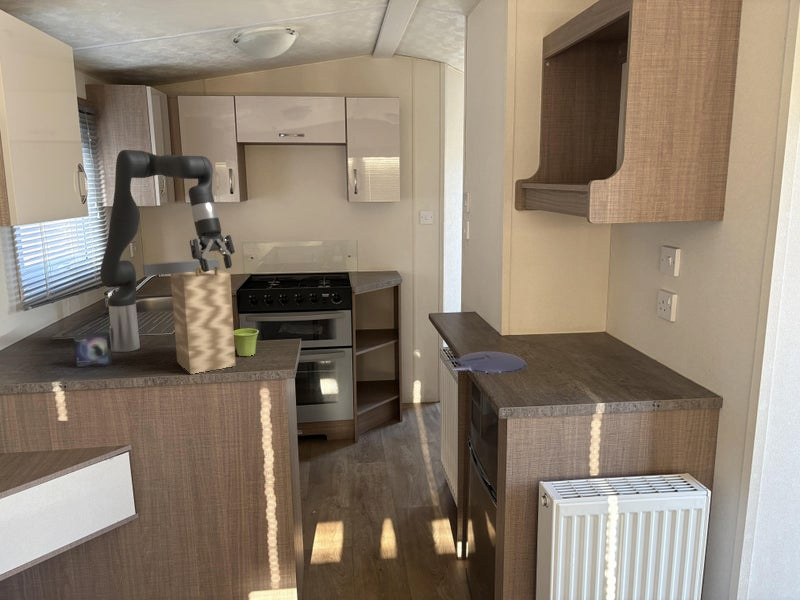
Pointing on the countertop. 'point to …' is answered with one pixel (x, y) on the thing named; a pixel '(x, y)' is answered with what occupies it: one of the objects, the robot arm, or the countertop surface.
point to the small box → (92, 349)
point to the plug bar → (177, 267)
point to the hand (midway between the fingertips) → (217, 269)
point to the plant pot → (245, 341)
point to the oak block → (203, 320)
